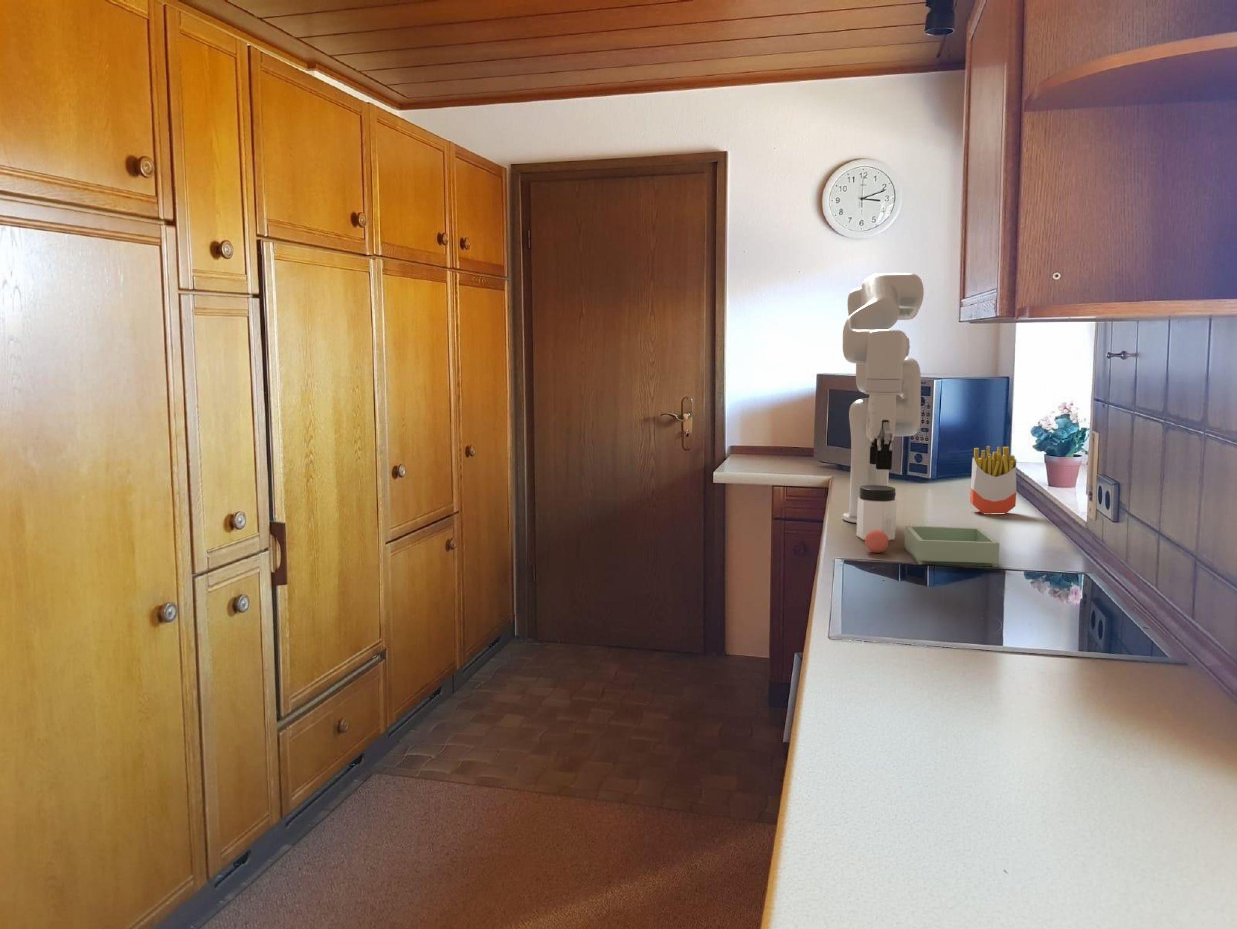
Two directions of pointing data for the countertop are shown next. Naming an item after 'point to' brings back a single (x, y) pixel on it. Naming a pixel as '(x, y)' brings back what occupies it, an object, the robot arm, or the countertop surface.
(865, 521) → the jar
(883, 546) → the tomato ball
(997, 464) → the french fries container
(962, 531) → the green bin
